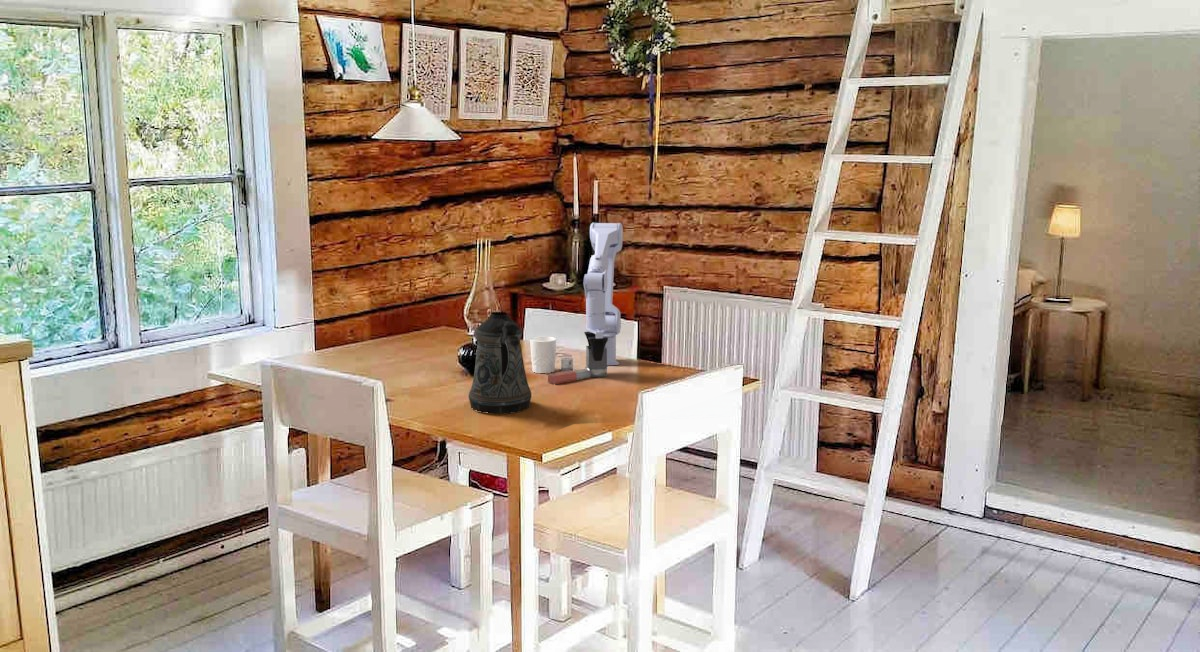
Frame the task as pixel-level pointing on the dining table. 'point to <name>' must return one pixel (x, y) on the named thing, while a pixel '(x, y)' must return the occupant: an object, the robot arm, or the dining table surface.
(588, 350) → the brushed steel cube
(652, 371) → the dining table surface
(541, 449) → the dining table surface
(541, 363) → the white cup
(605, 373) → the ratchet
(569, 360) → the socket
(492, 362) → the beer stein
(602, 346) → the robot arm
